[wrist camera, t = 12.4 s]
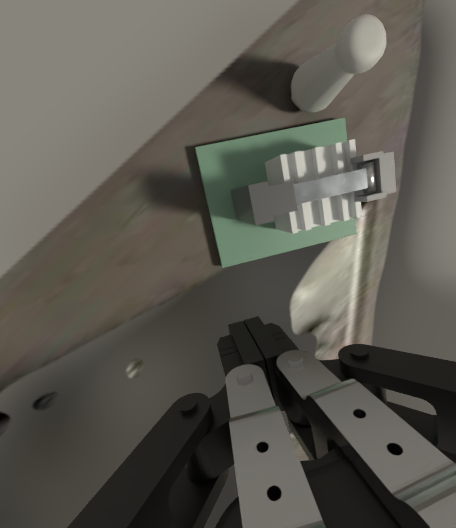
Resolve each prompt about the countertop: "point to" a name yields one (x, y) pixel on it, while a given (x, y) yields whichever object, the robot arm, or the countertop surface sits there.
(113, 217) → the countertop surface
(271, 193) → the block
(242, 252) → the heatsink base
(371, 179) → the strap
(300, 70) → the salt shaker
